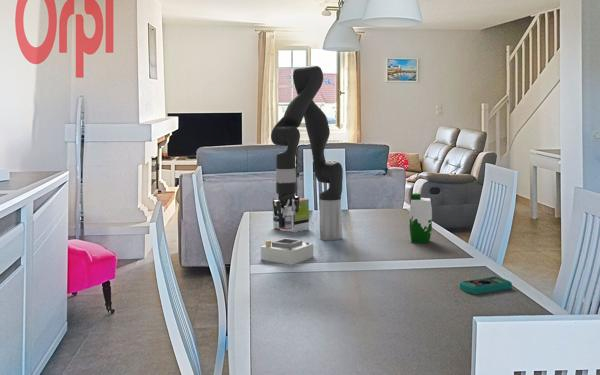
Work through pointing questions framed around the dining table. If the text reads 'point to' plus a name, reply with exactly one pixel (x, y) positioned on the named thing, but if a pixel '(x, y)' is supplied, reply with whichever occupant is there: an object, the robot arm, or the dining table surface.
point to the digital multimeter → (485, 285)
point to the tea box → (297, 216)
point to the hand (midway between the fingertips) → (286, 225)
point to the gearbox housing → (286, 251)
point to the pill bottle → (288, 220)
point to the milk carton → (420, 219)
